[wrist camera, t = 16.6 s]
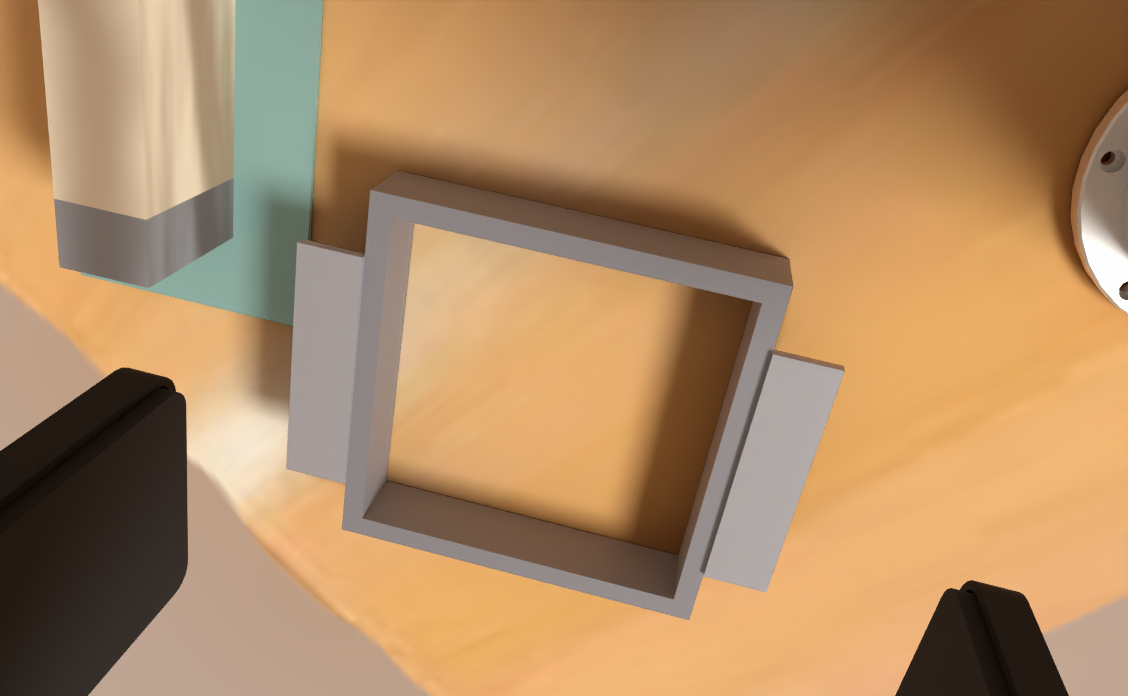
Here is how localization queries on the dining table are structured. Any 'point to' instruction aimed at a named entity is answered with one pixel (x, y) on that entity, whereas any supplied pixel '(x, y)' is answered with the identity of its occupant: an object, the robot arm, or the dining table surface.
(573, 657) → the dining table surface
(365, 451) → the open square frame
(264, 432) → the dining table surface
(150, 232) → the block
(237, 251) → the mat
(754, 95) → the dining table surface
